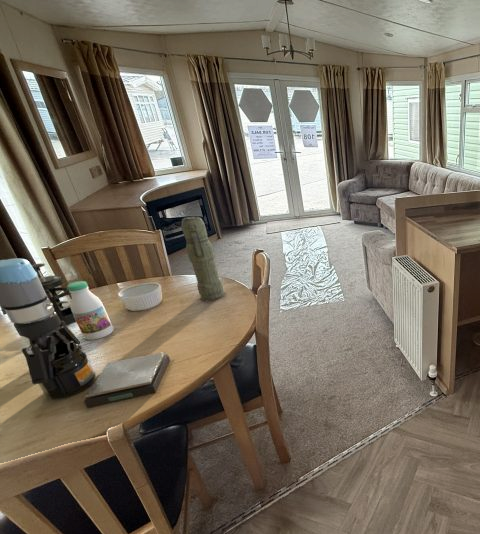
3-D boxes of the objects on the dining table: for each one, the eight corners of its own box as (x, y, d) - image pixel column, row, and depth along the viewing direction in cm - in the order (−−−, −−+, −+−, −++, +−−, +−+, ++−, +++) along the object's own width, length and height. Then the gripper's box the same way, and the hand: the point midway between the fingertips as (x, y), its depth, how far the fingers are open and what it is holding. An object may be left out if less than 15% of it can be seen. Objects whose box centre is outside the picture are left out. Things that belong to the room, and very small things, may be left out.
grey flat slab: (86, 397, 89) (84, 395, 89) (108, 364, 101) (107, 362, 101) (150, 383, 95) (150, 381, 94) (165, 354, 106) (164, 351, 106)
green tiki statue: (202, 304, 140) (178, 223, 125) (199, 293, 148) (176, 215, 134) (226, 298, 145) (206, 219, 131) (222, 287, 153) (202, 212, 139)
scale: (86, 408, 90) (83, 401, 89) (110, 372, 103) (107, 365, 102) (155, 393, 95) (152, 386, 94) (170, 360, 108) (168, 354, 107)
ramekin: (154, 294, 146) (149, 279, 144) (172, 301, 141) (167, 286, 138) (117, 307, 136) (110, 292, 133) (135, 316, 130) (128, 300, 128)
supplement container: (106, 372, 102) (91, 340, 97) (78, 398, 93) (59, 364, 88) (67, 375, 101) (49, 342, 96) (33, 402, 91) (12, 367, 86)
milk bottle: (84, 333, 120) (60, 283, 112) (113, 325, 125) (92, 276, 116) (84, 343, 115) (58, 291, 106) (114, 334, 119) (92, 284, 111)
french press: (42, 332, 120) (11, 273, 110) (43, 321, 126) (13, 265, 116) (88, 319, 128) (62, 264, 118) (87, 310, 133) (62, 256, 124)
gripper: (26, 338, 79) (66, 408, 88) (76, 294, 98) (104, 355, 107) (-19, 345, 76) (27, 417, 85) (41, 298, 96) (73, 361, 105)
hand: (70, 382), depth 96 cm, fingers closed on supplement container, 11 cm apart
